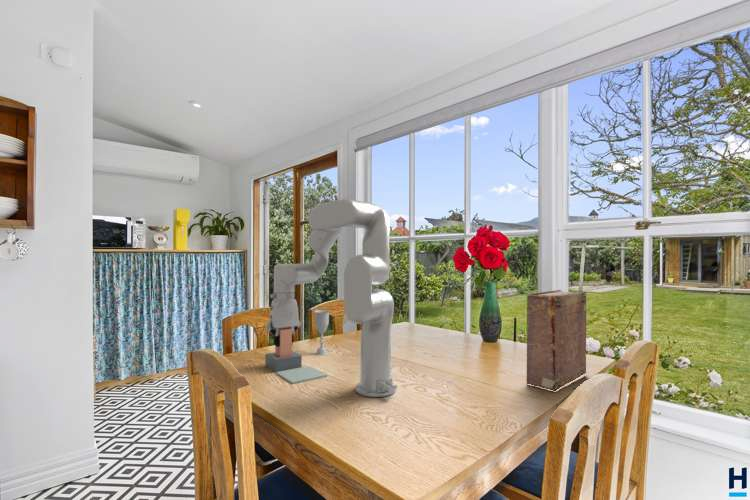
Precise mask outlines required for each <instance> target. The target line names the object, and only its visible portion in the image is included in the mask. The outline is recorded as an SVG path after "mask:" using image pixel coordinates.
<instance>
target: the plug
mask: <svg viewBox="0 0 750 500" xmlns="http://www.w3.org/2000/svg"><path fill="white" fill-rule="evenodd" d="M279 336H280V346H279V347H277V346H275V345H274V347H275V352H274V353H275V355H276V356H278V357H285V356H291V355H292V351H293V349H292V347H293V344H292V329H291V328H289V327H286V328H280V330H279Z"/></svg>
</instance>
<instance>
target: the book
mask: <svg viewBox="0 0 750 500" xmlns="http://www.w3.org/2000/svg"><path fill="white" fill-rule="evenodd" d="M585 373H586V374H587V291H582V292H573V291H572V292H571V291H562V290H561V289H554V290H547V291H542V292H536V293H535V292H534V293H528V294H526V385H527V384H531V385H534V386H539V387H542V388H546V389H550V390H553V391H556V390H557V389H559V388H560V387H562V386H564V385H565V384H567V383H569V382H571V381H573V380H575V379H576V378H578V377H580V376H581V375H583V374H585Z"/></svg>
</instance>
